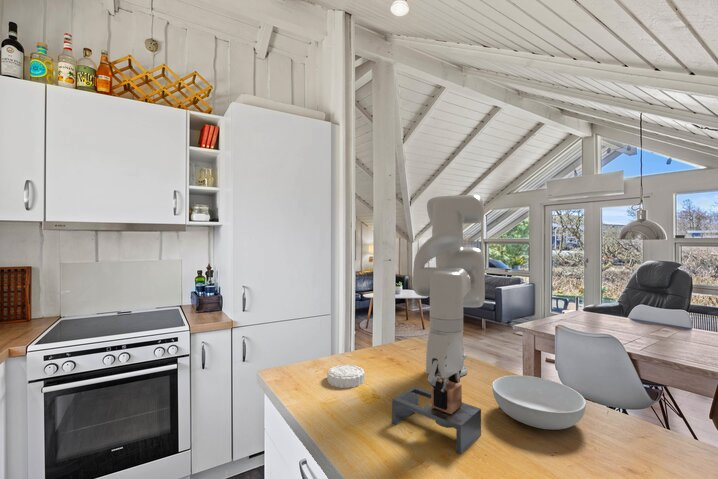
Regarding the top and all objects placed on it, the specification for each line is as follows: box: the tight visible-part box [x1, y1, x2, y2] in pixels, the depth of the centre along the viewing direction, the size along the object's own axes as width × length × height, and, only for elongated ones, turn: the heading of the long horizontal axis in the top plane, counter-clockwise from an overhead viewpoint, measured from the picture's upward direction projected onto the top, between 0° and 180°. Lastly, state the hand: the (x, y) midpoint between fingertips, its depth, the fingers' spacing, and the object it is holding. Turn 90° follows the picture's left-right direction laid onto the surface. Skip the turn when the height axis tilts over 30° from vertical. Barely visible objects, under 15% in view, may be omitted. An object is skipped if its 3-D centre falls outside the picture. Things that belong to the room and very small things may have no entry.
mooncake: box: [326, 364, 366, 389], centre depth 110 cm, size 12×12×4 cm
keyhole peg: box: [430, 379, 463, 429], centre depth 79 cm, size 5×5×8 cm
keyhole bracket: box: [391, 386, 482, 455], centre depth 81 cm, size 18×10×6 cm, turn 47°
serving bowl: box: [491, 374, 587, 430], centre depth 86 cm, size 21×21×7 cm
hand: (446, 402), depth 79 cm, fingers closed on keyhole peg, 4 cm apart
